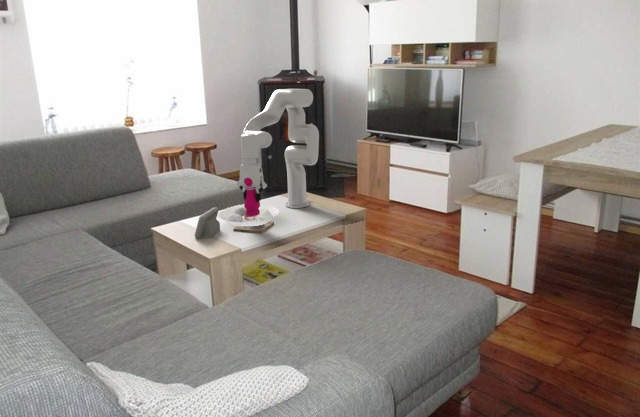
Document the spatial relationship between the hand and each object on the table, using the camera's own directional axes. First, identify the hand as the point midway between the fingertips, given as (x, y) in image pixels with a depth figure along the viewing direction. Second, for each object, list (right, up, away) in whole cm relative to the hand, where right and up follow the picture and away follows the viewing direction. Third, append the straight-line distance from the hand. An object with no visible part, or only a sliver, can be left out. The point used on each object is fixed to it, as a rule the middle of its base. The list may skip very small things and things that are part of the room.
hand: (252, 200), depth 244 cm
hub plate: (0, -12, +4) cm, 13 cm away
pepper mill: (0, -6, +2) cm, 7 cm away
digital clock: (-20, -15, -3) cm, 25 cm away
